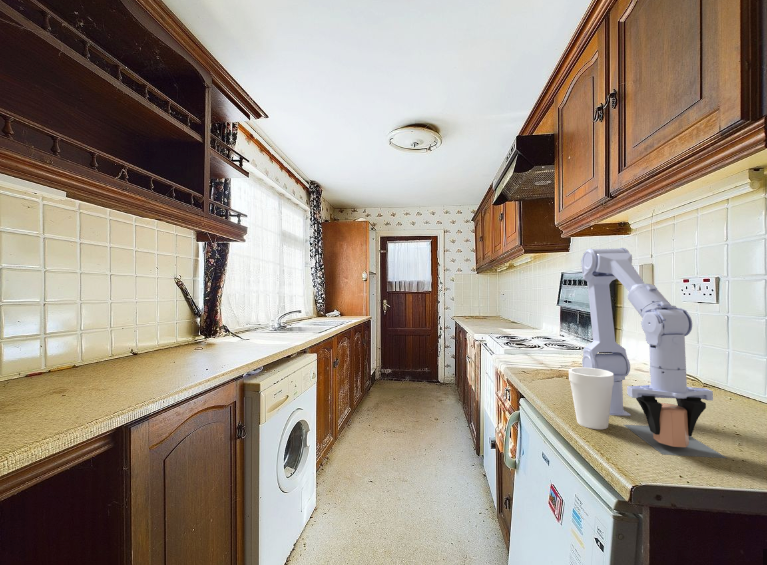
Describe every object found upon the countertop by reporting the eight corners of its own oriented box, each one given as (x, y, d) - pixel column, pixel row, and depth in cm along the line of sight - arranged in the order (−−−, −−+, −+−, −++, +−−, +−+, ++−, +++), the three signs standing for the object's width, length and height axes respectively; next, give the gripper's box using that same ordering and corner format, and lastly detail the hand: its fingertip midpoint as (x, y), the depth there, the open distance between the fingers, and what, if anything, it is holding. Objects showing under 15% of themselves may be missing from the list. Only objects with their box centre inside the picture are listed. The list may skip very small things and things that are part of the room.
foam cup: (564, 425, 82) (563, 372, 83) (576, 415, 89) (575, 365, 89) (610, 437, 76) (608, 378, 76) (620, 425, 82) (617, 371, 82)
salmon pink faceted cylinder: (649, 435, 72) (647, 402, 73) (676, 436, 72) (675, 403, 72) (664, 446, 67) (662, 410, 68) (694, 447, 66) (692, 411, 67)
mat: (623, 426, 81) (623, 424, 81) (675, 428, 79) (675, 426, 79) (662, 456, 67) (662, 454, 67) (727, 460, 65) (727, 458, 65)
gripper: (639, 370, 67) (642, 439, 67) (724, 372, 65) (727, 444, 64) (621, 363, 74) (623, 425, 74) (697, 364, 72) (699, 429, 71)
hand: (670, 433), depth 70 cm, fingers closed on salmon pink faceted cylinder, 5 cm apart
